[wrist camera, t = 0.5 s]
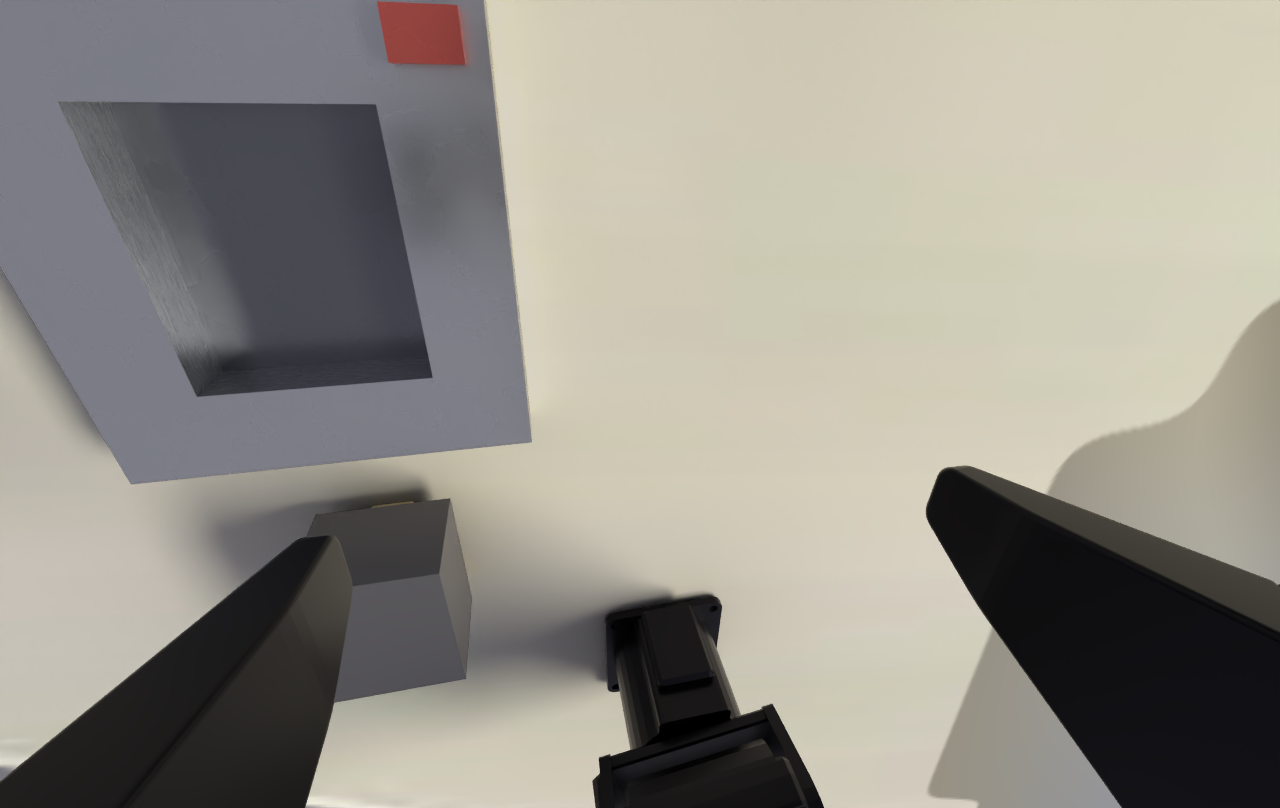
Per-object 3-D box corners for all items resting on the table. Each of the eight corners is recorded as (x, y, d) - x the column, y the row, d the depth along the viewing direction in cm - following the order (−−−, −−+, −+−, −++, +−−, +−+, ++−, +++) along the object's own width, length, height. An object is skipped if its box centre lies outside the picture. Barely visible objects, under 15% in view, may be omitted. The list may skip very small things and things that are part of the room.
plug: (473, 581, 26) (466, 678, 21) (360, 598, 25) (330, 703, 20) (452, 483, 23) (439, 574, 18) (323, 498, 22) (278, 597, 17)
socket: (529, 414, 22) (532, 451, 19) (164, 449, 19) (120, 496, 17) (482, -23, 15) (478, -43, 12) (-107, -53, 12) (-242, -85, 10)
